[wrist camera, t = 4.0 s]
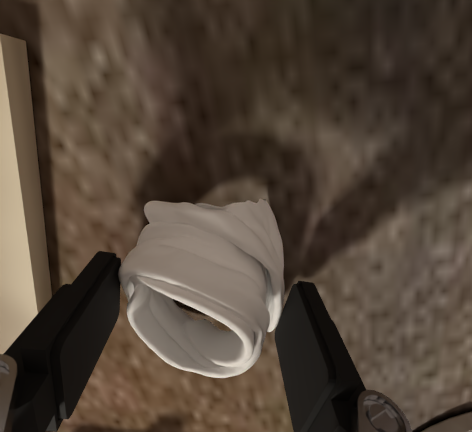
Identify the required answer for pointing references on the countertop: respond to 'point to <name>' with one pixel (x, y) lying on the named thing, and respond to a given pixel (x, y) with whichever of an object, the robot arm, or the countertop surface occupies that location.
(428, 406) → the countertop surface
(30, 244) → the tray
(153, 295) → the white rolled sock
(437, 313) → the countertop surface
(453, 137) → the countertop surface
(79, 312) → the robot arm
